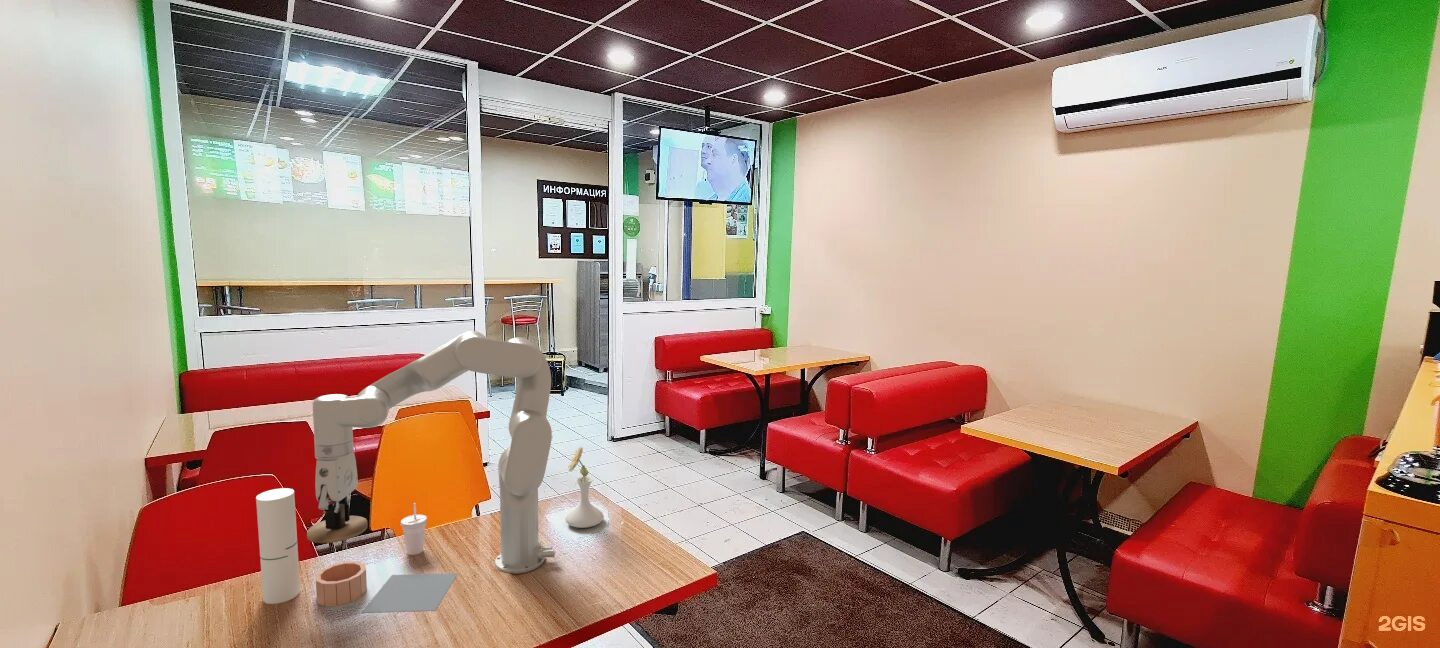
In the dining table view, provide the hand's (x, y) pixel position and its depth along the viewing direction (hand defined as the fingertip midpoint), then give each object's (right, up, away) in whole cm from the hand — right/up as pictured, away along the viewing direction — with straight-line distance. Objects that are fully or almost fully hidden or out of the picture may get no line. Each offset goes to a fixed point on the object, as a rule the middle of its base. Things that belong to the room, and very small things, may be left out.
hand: (337, 523), depth 143 cm
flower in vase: (+48, -14, +43) cm, 66 cm away
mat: (+15, -18, +4) cm, 24 cm away
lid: (0, -2, 0) cm, 2 cm away
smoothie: (+7, -16, +23) cm, 29 cm away
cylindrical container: (-14, -18, +2) cm, 23 cm away
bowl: (0, -18, +2) cm, 18 cm away
